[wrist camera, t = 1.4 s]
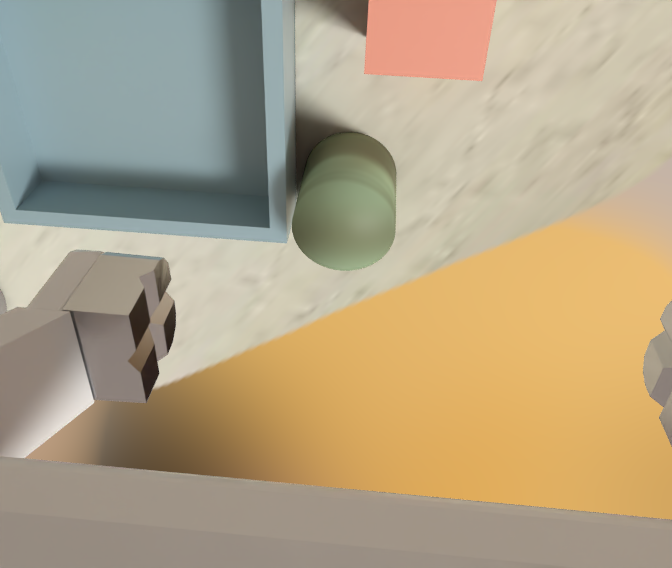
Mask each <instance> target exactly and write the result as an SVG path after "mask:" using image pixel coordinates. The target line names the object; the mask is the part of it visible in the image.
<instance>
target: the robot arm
mask: <svg viewBox="0 0 672 568" xmlns="http://www.w3.org/2000/svg"><path fill="white" fill-rule="evenodd" d="M170 281H171V275H170V269H169V264H168V262H167V261H166V260H165V259H164V258H160V257H150V256H141V255H131V254H121V253H111V252H105V253H104V252H100V251H88V250H74V251H71V252H69V253H68V255H67V256H66V257H65V259H64V260H63V261H62V262H61V264H60V265H59V266H58V268H57V269H56V270H55V271H54V273H53V274H52V275H51V277H50V278H49V279H48V281H47V282H46V283H45V284H44V286H43V287H42V288H41V290H40V291H39V292H38V293H37V295H36V296H35V297H34V299H33V300H32V301H31V303H30V304H29V305H28V306H27V308H23V307H16V308H14V309H12V310H10V311H8V312H6V313H4V314H1V315H0V568H672V520H668V519H657V518H647V517H637V516H627V515H617V514H607V513H596V512H586V511H575V510H564V509H555V508H545V507H534V506H524V505H513V504H503V503H491V502H482V501H481V502H480V501H471V500H460V499H449V498H439V497H428V496H417V495H406V494H396V493H385V492H375V491H364V490H354V489H343V488H332V487H321V486H311V485H300V484H290V483H279V482H268V481H258V480H247V479H236V478H226V477H214V476H204V475H194V474H184V473H173V472H162V471H152V470H141V469H130V468H120V467H110V466H99V465H88V464H77V463H67V462H57V461H46V460H36V459H25V457H26V456H27V455H28V454H30V453H31V452H32V451H34V450H35V449H36V448H38V447H39V446H40V445H41V444H43V443H44V442H45V441H46V440H48V439H49V438H50V437H51V436H53V435H54V434H55V433H56V432H58V431H59V430H60V429H61V428H63V427H64V426H65V425H66V424H68V423H69V422H70V421H72V420H73V419H74V418H75V417H77V416H78V415H79V414H80V413H82V412H83V411H84V410H85V409H87V408H88V407H89V406H90V405H92V404H93V403H94V400H107V401H122V402H138V403H147V400H148V398H149V396H150V394H151V391H152V389H153V387H154V385H155V382H156V380H157V378H158V376H159V368H158V362H157V361H158V360H160V359H162V358H163V357H165V356H166V355H168V352H169V350H170V348H171V345H172V343H173V338H174V333H175V327H176V309H175V302H174V300H173V299H172V298H171V297H170V295H169V294H168V293H167V292H166V289H167V287H168V285H169V283H170ZM660 320H661V322H662V324H663V326H664V329H665V331H663V332H662V333H661V334H659V335H658V336H656V337H655V338H653V339H652V340H651V341H650V343H649V346H648V348H647V351H646V353H645V356H644V366H643V375H644V381H645V385H646V388H647V390H648V393H649V395H650V397H651V398H653V399H654V400H655V401H657V402H658V403H659V404H660V405H661V406H663V407H664V408H663V411H662V412H661V415H660V417H659V419H660V421H661V423H662V425H663V427H664V430H665V432H666V434H667V436H668V439H669V441H670V444H671V445H672V301H671V302H670V303H669V304H668V305H667V306H666V308H665V310H664V312H663V314H662V316H661V318H660Z"/></svg>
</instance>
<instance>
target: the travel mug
mask: <svg viewBox="0 0 672 568" xmlns="http://www.w3.org/2000/svg"><path fill="white" fill-rule="evenodd" d="M4 313H6V301H5V298H4V295H3V293H2V291H1V289H0V315H1V314H4Z"/></svg>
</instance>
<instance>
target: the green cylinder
mask: <svg viewBox="0 0 672 568" xmlns="http://www.w3.org/2000/svg"><path fill="white" fill-rule="evenodd" d="M395 224H396V167H395V163H394V160H393V158H392V156H391V154H390V153H389V151H388V150H387V149H386V148H385V147H384V146H383V145H382V144H381V143H380V142H378V141H377V140H375V139H374V138H372V137H370V136H367V135H364V134H360V133H354V132H345V133H339V134H335V135H332V136H330V137H327V138H326V139H324V140H322V141H321V142H320V143H319V144H318V145H316V146H315V148H314V149H313V150H312V151H311V153H310V155H309V157H308V160H307V163H306V167H305V170H304V174H303V178H302V182H301V186H300V190H299V194H298V198H297V202H296V206H295V210H294V214H293V218H292V232H293V236H294V239H295V241H296V243H297V245H298V247H299V248H300V249H301V251H302V252H303V253H304V254H305V255H306V256H307V257H308V258H310V259H311V260H312V261H314V262H316V263H317V264H319V265H322V266H324V267H327V268H330V269H334V270H342V271H350V270H357V269H362V268H365V267H368V266H370V265H372V264H374V263H376V262H377V261H379V260H380V259H381V258H382V257H383V256H384V255H385V254H386V253H387V252H388V250H389V249H390V247H391V245H392V243H393V241H394V237H395Z"/></svg>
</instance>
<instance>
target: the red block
mask: <svg viewBox="0 0 672 568" xmlns="http://www.w3.org/2000/svg"><path fill="white" fill-rule="evenodd" d="M496 1H497V0H369V4H368V20H367V37H366V54H365V70H364V74H375V75H392V76H409V77H425V78H442V79H459V80H476V81H482V80H483V74H484V68H485V63H486V57H487V51H488V46H489V40H490V34H491V29H492V23H493V17H494V12H495V6H496Z"/></svg>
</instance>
